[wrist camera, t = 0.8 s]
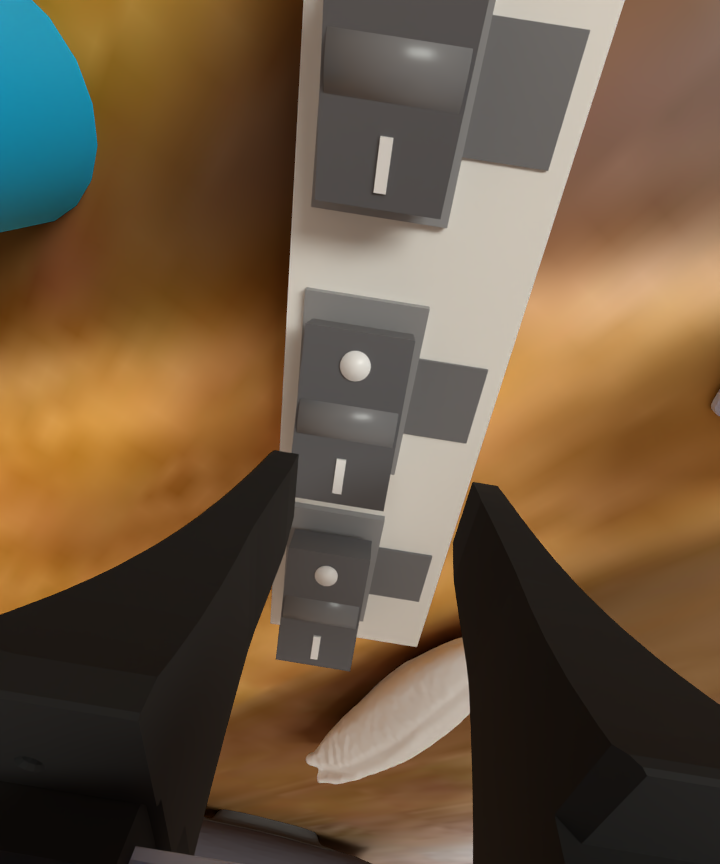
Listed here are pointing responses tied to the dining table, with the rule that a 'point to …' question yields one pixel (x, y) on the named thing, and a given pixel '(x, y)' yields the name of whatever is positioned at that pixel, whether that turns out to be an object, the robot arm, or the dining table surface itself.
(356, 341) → the rocker dark gray
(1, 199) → the mug
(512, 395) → the dining table surface
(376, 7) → the dark grey block
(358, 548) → the rocker slate
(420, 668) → the white corn cob
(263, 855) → the bluetooth speaker
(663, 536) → the dining table surface
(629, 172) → the dining table surface
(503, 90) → the power strip
